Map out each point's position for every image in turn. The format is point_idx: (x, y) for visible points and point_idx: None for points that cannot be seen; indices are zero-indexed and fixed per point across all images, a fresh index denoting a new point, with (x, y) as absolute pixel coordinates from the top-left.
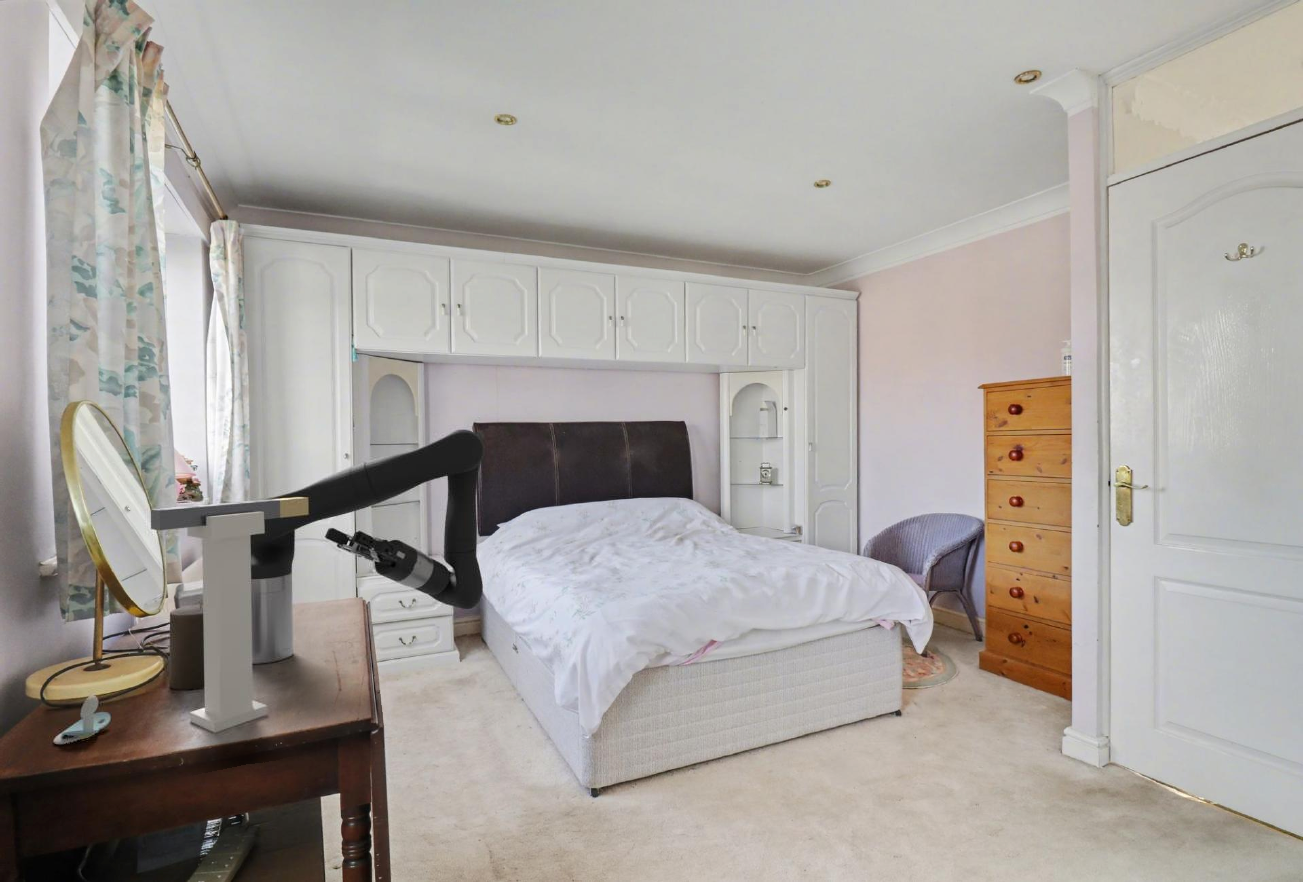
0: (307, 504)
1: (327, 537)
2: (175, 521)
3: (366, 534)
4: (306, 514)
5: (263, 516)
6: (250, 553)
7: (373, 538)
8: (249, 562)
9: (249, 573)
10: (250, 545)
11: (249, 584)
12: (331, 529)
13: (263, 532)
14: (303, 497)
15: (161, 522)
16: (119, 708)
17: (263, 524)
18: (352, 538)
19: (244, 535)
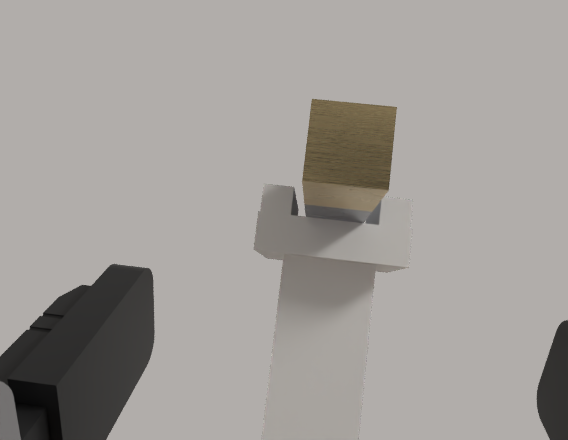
0: (308, 132)
1: (538, 403)
2: None
3: (72, 312)
4: (302, 181)
5: (262, 197)
6: (277, 314)
7: (8, 387)
8: (273, 341)
9: (269, 375)
10: (280, 290)
11: (265, 410)
12: (562, 333)
13: (254, 247)
14: (350, 103)
15: None
16: None
17: (257, 222)
18: (150, 332)
19: (260, 253)
